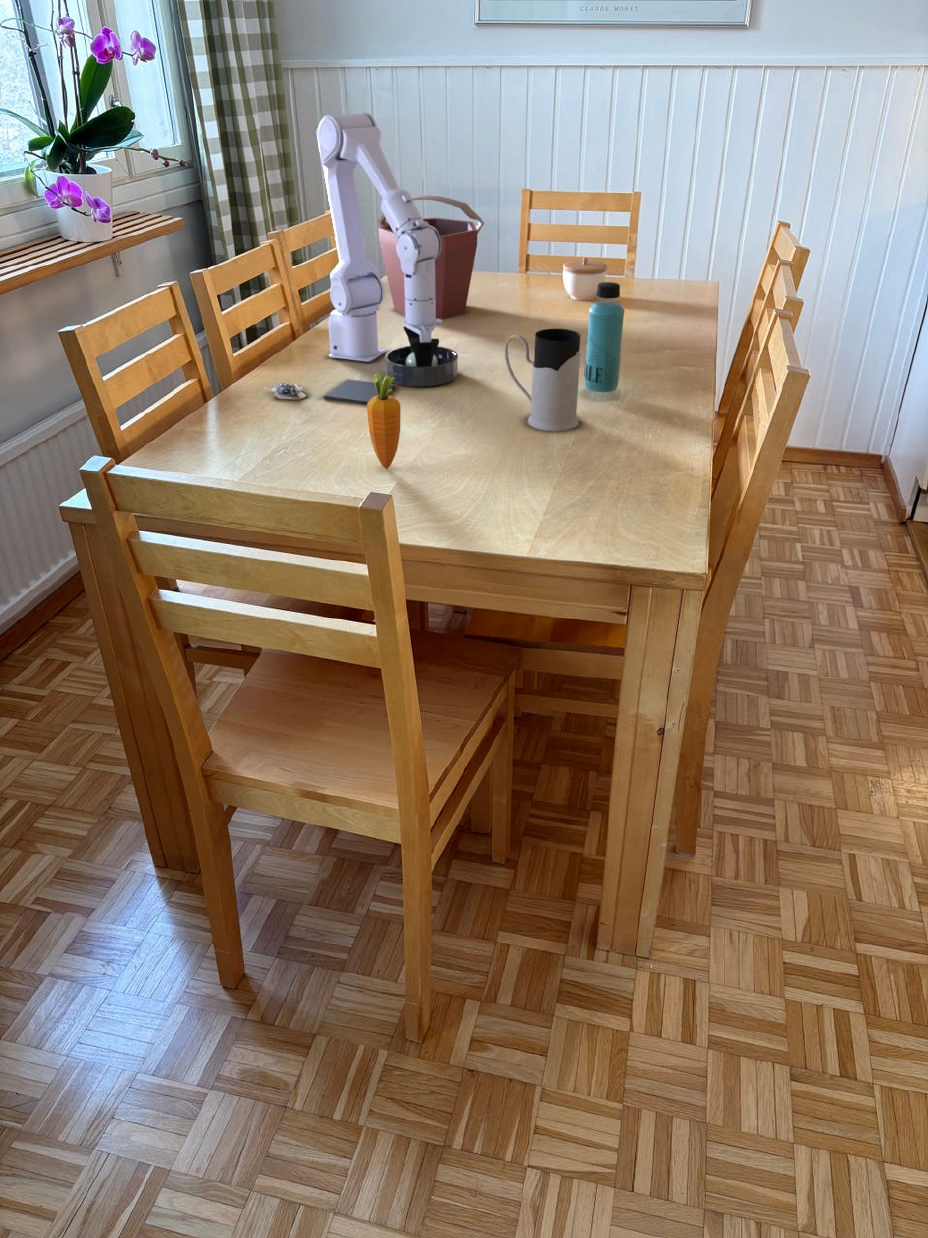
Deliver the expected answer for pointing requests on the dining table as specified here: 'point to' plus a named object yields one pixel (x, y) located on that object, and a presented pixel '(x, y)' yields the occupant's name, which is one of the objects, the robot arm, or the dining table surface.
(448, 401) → the dining table surface
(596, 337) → the beverage bottle
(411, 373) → the basin
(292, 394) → the blueberries
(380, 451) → the carrot
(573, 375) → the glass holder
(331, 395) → the mat
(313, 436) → the dining table surface
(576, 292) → the trinket box
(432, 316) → the robot arm
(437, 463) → the dining table surface
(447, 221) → the bucket
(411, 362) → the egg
